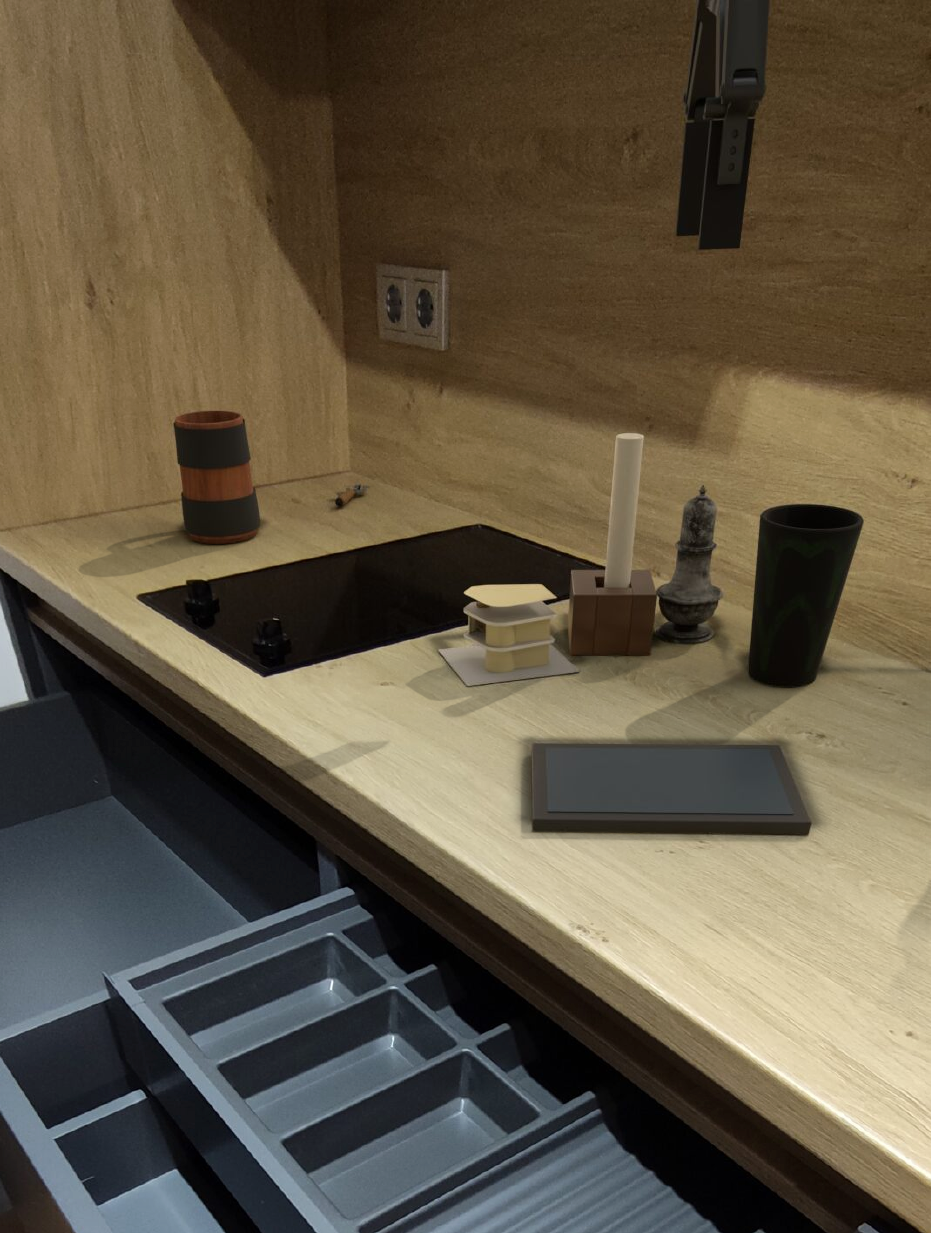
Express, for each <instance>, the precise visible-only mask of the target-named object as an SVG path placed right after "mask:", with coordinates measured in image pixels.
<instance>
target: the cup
mask: <svg viewBox="0 0 931 1233" xmlns="http://www.w3.org/2000/svg"><path fill="white" fill-rule="evenodd" d="M864 523H865V520H864V517H863V516H862V515H861V514H860V513H858V512H856V511H853V510H852V509H847V508H844V507H840V506H834V505H827V504H816V503H793V504H792V503H791V504H782V505H777V506H776V505H775V506H773V507H769V508H767V509H765V510H764V511H762V512H761V513H760V514H759V525H758V526H759V527H758V536H757V537H758V539H757V552H756V564H755V576H754V577H755V578H754V590H753V601H752V602H753V603H752V612H751V613H752V614H751V627H750V640H749V652H748V665H747V675H748V677H749V678H750V679H752V680H753V681H755V682H757V683H759V684H761V685H762V684H763V685H766V686H771V687H776V688H777V687H778V688H799V687H805V686H808V685H811V684H812V683H814V682H815V681H816V679H817V676H818V672H819V670H820V667H821V663H822V659H823V656H824V653H825V651H826V646H827V644H828V641H829V637H830V634H831V630H832V628H833V624H834V620H835V617H836V614H837V612H838V608H839V604H840V602H841V597H842V595H843V591H844V588H845V585H846V582H847V579H848V576H849V571H850V568H851V565H852V563H853V562H852V561H853V559H854V556H855V552H856V549H857V545H858V542H859V539H860V536H861V532H862V529H863V526H864Z"/></svg>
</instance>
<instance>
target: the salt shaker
mask: <svg viewBox="0 0 931 1233" xmlns="http://www.w3.org/2000/svg"><path fill="white" fill-rule="evenodd" d="M707 491H708V490H707V489H706V487H705V484H702V485H701V487H700V488H699V489H698V492H699V494H698V495H696V496H695V497H692V498H691V499H689V500H688V501H686V503H685V504H684V506H683V509H682V510H683V511H682V518H681V520H682V521H681V526H680V536H679V540H678V541H676V542H675V543H674V548H675V549H677V552H676V561H675V569H674V571H673V574H672V578H671V580H670V581H669V582H667V583H664V584H662V585H660V586H658V587H657V588H656V589H655V590H656V593H657V598H658V607H659V610H660V613H661V615H662V616H663V617H664V618H665V619H666V620H667V621H665V622H663V623H662V624H660V625H658V626H657V627H656V628H655V630H654V634H655V636H656V637H657V638H659V639H661V640H663V641H665V642H669V643H674V644H684V645H685V644H686V645H688V644H689V645H690V644H691V645H692V644H699V643H704V642H708V641H709V640H712V639H713V638H714V636H715V631H714V630H713V629H712V628H711V627H710V626H709V625H708V624H706V622H707V621H708V620H709V619H711V618H712V616H713V615H714V614H715V612H716V611H717V608H718V606H719V601H720V600H721V599H722V598H723V597H724V591H723V590H722V589H721V587H718V586H717V585H715V584H713V583H712V581H711V562H712V557H713V556H712V555H713V551H714V550H715V549H717V546H718V545H717V543H716V542H715V541H714V534H715V526H716V521H717V513H718V505H717V503H716V502H715V501H714V500H713V499H712V498H710V497H708V495H706V493H707Z"/></svg>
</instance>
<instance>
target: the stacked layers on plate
mask: <svg viewBox="0 0 931 1233" xmlns="http://www.w3.org/2000/svg"><path fill="white" fill-rule="evenodd" d="M463 594H464V595H466V596H468V597H470V598H471V599H474V600H476V601H471V602H470V603H469V604H467V605H466V606H465V607H463V613H464V614H466V616H467V620H468V622H467V623H468V626H467V630H466V631H464V632H463V638H464V639H465V640H467V641H469V642H471V643H473V644H474V645H473V644H472V645H465V646H456V647H448V648H440V649H437V651H438V652H439V654H441V656H442V657H443V659H445V660H446V662H447V663H448V664H449V665H450V667H451V668H452V669H453V670H454V672H455V673H456V675H458V676H459V678H460V679H461V680H462V682H463V683H464V684H465V685H466V687H471V686H480V685H487V684H493V683H503V682H510V681H517V680H525V679H533V678H534V679H535V678H542V677H549V676H558V675H566V674H574V673H580V672H581V671H580V670H579V669H578V668H576V666H574V665H573V663H571V661H569V660H568V659H567V658H566V657H565V656H564V655H563V654H562V653H561V652H560V651H559V650H558V649H557V648H556V647H555V646H554V645H553V643H555V637H553V635H552V634H551V620H552V619H555V618H556V617H557V613H556V612H555V611H554V610H553V609H551V608H550V607H549V606H548V605H547V604H546V603H545V602H544V601H548V600H554V599H557V598H558V597H557V596H556V595H555V594H553V593H552V592H551V591H550V590H549V589H548V588H546V587H545V586H544V585H543V584H541V583H527V584H526V583H525V584H524V583H523V584H520V583H519V584H516V583H515V584H481V585H473V586H470V587H469V588H468V589H466V590H465V591H464V592H463Z"/></svg>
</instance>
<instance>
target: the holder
mask: <svg viewBox="0 0 931 1233" xmlns="http://www.w3.org/2000/svg"><path fill="white" fill-rule="evenodd" d="M604 581H605V569H571V571H570V581H569V582H570V584H569V600H568V616H567V617H568V618H567V635H568V647H569V655H571V656H589V655H590V656H651V654H652V645H653V638H654V628H655V627H654V626H655V618H656V610H657V609H656V608H657V602H658V601H657V599H658V596H657V593H656V590H657V589H656V586H655V582H654V578H653V575H652V572H651V569H631V577H630V588H604Z"/></svg>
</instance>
